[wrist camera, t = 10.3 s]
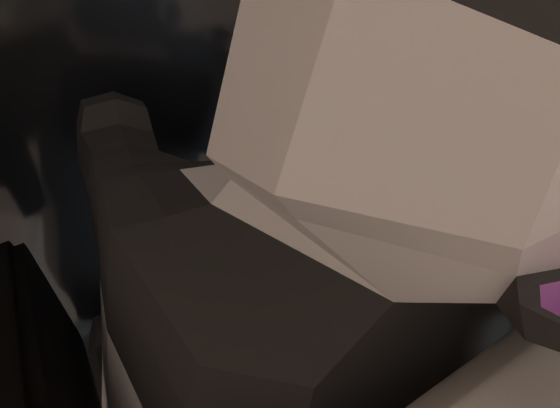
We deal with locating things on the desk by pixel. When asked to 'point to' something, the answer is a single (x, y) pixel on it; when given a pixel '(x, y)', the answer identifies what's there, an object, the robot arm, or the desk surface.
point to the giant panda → (333, 209)
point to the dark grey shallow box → (65, 106)
